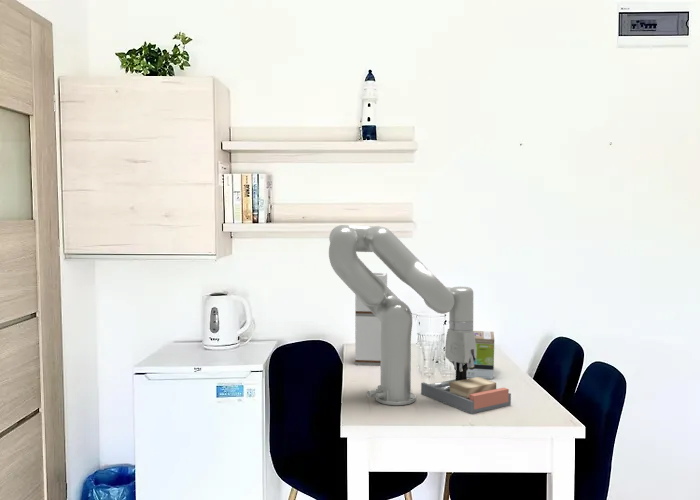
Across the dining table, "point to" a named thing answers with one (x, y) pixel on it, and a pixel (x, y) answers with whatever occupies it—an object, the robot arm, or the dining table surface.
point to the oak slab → (471, 386)
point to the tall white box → (367, 333)
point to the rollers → (445, 386)
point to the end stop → (490, 397)
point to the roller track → (457, 399)
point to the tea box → (483, 356)
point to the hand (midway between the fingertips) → (461, 382)
